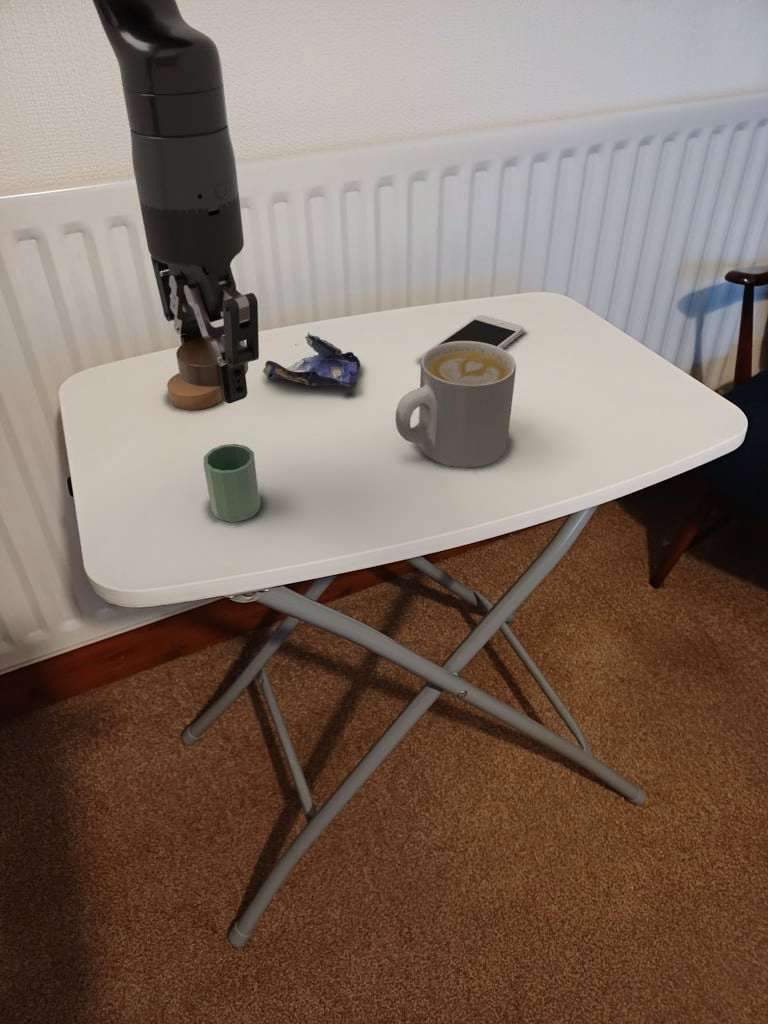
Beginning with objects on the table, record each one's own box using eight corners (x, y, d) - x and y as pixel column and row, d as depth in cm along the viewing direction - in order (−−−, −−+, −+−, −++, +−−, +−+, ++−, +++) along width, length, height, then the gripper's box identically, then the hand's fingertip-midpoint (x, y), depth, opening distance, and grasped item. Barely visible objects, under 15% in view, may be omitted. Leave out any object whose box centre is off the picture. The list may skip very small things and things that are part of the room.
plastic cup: (245, 526, 77) (238, 476, 73) (203, 515, 78) (194, 466, 74) (268, 498, 80) (263, 449, 76) (227, 488, 82) (220, 440, 78)
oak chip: (206, 414, 93) (203, 399, 92) (159, 404, 95) (156, 389, 94) (234, 388, 98) (232, 374, 96) (188, 379, 100) (186, 364, 98)
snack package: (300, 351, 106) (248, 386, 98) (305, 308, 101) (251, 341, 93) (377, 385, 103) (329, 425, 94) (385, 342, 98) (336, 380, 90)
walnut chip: (226, 392, 66) (223, 371, 65) (166, 379, 68) (162, 358, 67) (260, 361, 71) (258, 341, 70) (203, 350, 73) (199, 330, 71)
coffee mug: (485, 412, 93) (492, 335, 87) (522, 458, 86) (532, 377, 80) (377, 432, 90) (377, 352, 84) (406, 480, 83) (408, 398, 76)
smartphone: (524, 332, 110) (525, 325, 109) (467, 376, 100) (468, 369, 99) (479, 319, 113) (480, 313, 112) (421, 361, 103) (421, 354, 102)
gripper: (103, 177, 62) (142, 367, 73) (188, 225, 54) (219, 433, 64) (188, 162, 66) (214, 344, 77) (281, 204, 57) (296, 404, 68)
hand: (216, 384), depth 70 cm, fingers closed on walnut chip, 6 cm apart
